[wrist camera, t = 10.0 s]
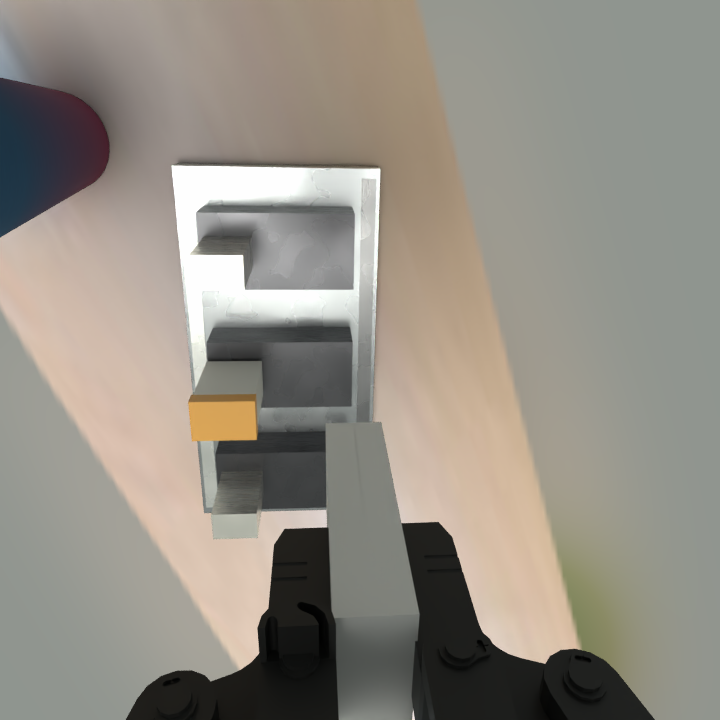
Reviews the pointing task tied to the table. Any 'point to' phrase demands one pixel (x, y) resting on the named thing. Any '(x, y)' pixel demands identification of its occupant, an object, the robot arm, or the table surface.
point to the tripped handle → (227, 401)
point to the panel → (279, 320)
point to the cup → (45, 150)
